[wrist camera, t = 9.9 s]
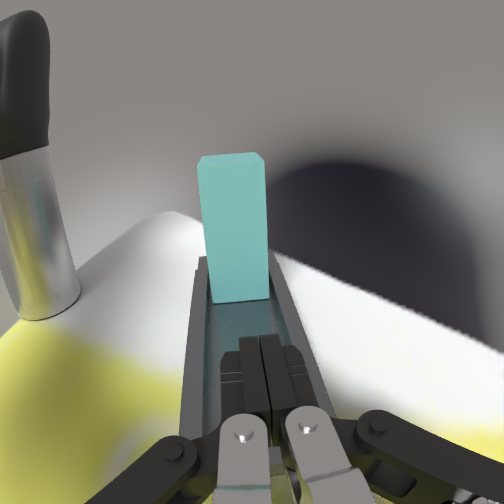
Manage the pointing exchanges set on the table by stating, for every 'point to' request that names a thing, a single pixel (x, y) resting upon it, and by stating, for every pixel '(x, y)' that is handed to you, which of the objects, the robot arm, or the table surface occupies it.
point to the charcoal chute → (236, 349)
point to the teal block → (235, 225)
